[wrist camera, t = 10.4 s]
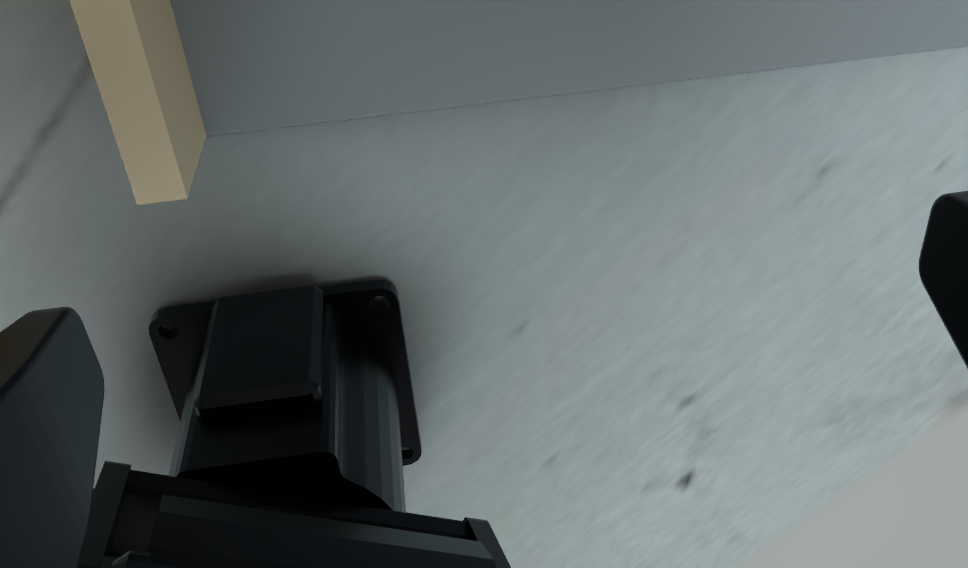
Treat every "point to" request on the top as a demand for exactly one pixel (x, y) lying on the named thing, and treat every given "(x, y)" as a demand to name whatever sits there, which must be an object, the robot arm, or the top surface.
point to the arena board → (440, 58)
